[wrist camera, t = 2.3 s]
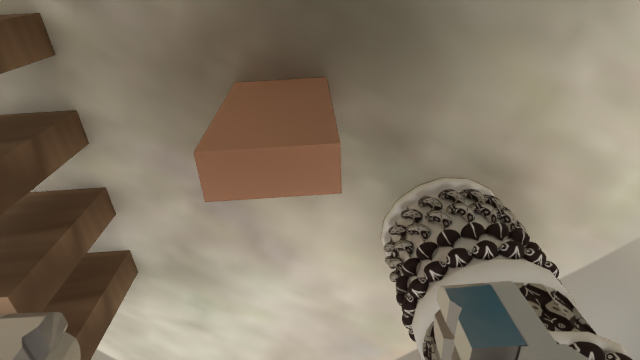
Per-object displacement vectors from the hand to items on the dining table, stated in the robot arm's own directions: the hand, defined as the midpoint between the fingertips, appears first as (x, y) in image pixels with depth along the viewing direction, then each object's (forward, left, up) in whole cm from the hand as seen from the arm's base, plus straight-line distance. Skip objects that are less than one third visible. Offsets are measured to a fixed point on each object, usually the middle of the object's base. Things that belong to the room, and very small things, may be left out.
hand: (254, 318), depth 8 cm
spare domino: (0, 0, -15) cm, 15 cm away
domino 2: (+6, -14, -15) cm, 21 cm away
